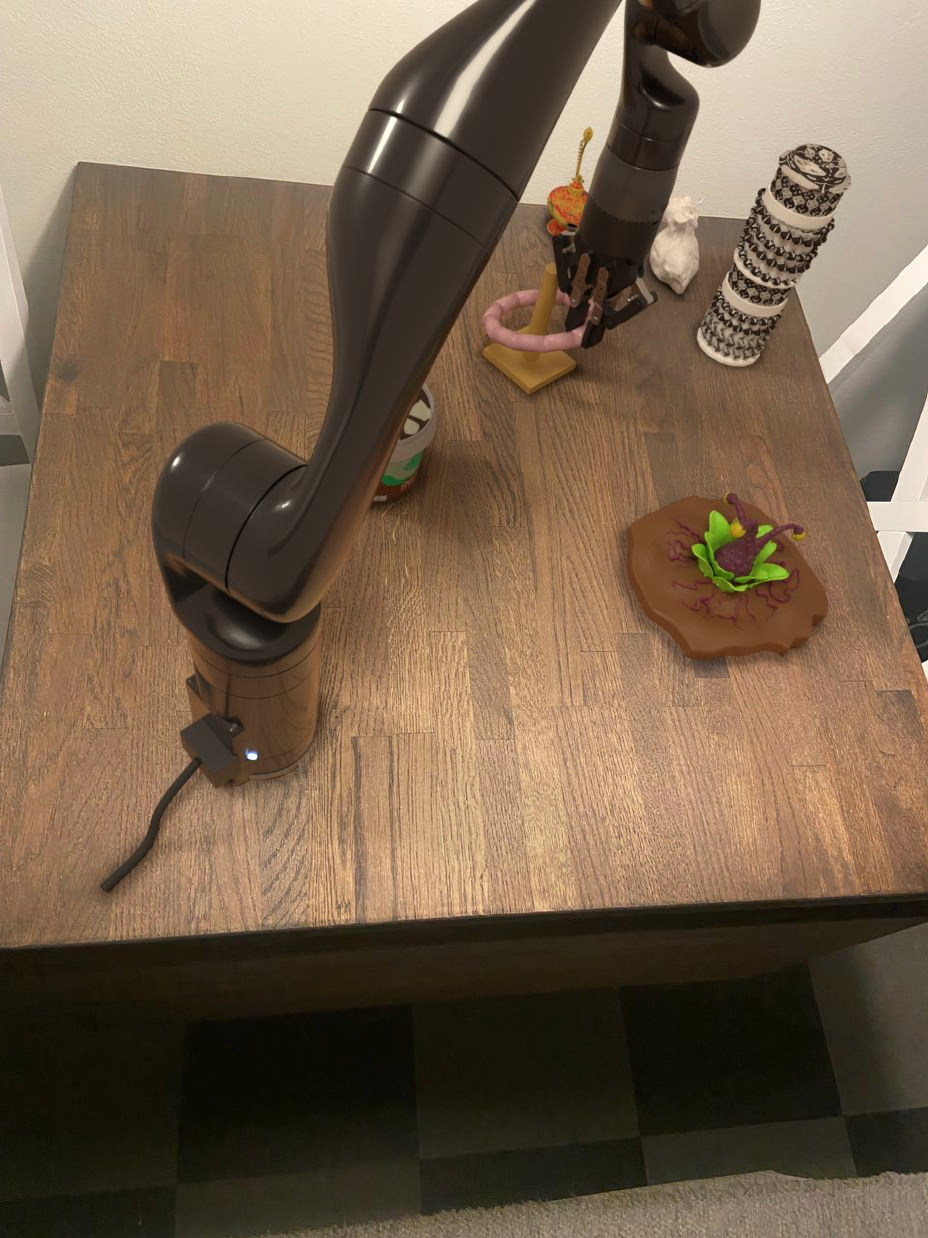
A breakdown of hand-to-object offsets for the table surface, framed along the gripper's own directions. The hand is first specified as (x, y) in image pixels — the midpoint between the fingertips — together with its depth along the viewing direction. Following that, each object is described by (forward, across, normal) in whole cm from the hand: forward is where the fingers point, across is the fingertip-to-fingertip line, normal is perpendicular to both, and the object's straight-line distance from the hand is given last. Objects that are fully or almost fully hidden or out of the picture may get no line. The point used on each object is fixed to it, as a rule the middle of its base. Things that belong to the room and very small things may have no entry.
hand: (580, 338), depth 101 cm
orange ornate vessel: (+8, -21, +22) cm, 31 cm away
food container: (+8, -1, -25) cm, 26 cm away
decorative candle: (+8, +6, +25) cm, 27 cm away
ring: (+1, -6, 0) cm, 6 cm away
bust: (+8, -8, +29) cm, 31 cm away
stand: (+8, -6, 0) cm, 10 cm away
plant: (+8, +29, -7) cm, 31 cm away
